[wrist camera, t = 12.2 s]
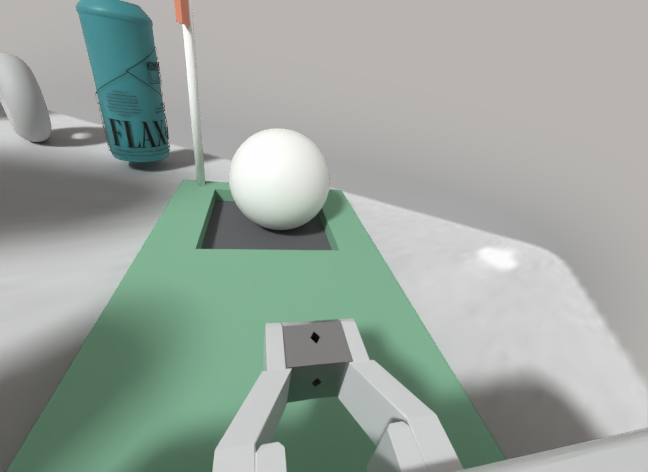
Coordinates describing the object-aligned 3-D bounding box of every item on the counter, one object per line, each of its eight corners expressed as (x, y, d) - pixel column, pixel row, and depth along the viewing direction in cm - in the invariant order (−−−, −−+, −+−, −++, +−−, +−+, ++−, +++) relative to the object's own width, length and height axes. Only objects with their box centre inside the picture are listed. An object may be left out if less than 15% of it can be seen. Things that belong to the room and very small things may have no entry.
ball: (330, 126, 28) (363, 185, 22) (294, 193, 33) (314, 253, 28) (239, 93, 23) (255, 157, 18) (215, 177, 28) (221, 245, 23)
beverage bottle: (109, 175, 32) (44, -73, 21) (116, 156, 37) (67, -53, 26) (173, 174, 35) (144, -45, 24) (172, 157, 39) (147, -31, 29)
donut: (64, 150, 36) (34, 59, 31) (27, 152, 34) (-13, 55, 28) (45, 130, 41) (16, 50, 36) (11, 132, 39) (-25, 45, 33)
